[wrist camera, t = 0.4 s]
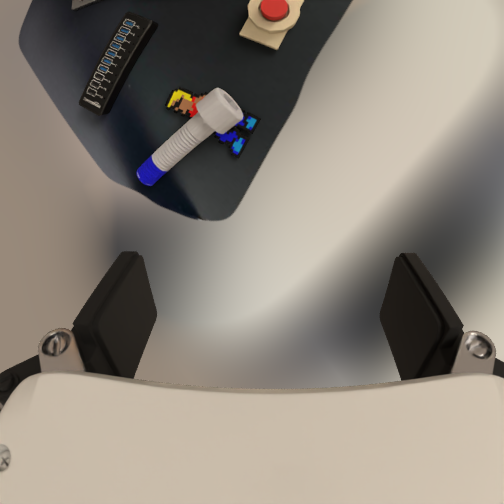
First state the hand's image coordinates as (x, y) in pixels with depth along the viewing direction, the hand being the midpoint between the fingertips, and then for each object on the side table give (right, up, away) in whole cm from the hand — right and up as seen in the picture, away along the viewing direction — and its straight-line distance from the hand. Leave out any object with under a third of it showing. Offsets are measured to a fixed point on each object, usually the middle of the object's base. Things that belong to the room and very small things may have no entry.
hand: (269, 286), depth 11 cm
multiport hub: (-18, +27, +21) cm, 38 cm away
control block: (+2, +30, +17) cm, 35 cm away
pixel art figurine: (-6, +18, +25) cm, 32 cm away
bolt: (-11, +17, +23) cm, 30 cm away
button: (+2, +29, +15) cm, 33 cm away
